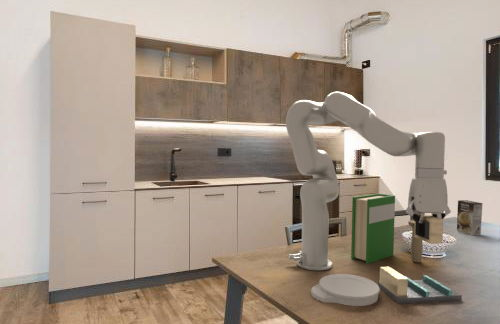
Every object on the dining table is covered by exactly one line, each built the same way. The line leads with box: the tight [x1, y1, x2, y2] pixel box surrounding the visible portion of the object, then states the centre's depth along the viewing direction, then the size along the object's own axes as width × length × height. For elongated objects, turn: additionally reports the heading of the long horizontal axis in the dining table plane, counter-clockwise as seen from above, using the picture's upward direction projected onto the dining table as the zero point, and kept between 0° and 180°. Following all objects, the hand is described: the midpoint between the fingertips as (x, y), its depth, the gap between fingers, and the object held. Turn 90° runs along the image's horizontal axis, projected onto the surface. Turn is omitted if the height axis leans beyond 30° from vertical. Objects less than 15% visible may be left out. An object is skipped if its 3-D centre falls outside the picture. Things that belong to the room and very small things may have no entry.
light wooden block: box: [414, 213, 444, 245], centre depth 104 cm, size 8×4×7 cm, turn 8°
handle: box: [407, 220, 424, 263], centre depth 133 cm, size 5×6×15 cm
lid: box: [310, 273, 381, 307], centre depth 103 cm, size 17×20×3 cm
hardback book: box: [350, 193, 396, 265], centre depth 138 cm, size 18×7×24 cm, turn 128°
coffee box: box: [456, 199, 483, 236], centre depth 178 cm, size 9×6×16 cm
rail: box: [377, 266, 463, 305], centre depth 104 cm, size 19×12×6 cm, turn 98°
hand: (427, 235), depth 104 cm, fingers closed on light wooden block, 3 cm apart
